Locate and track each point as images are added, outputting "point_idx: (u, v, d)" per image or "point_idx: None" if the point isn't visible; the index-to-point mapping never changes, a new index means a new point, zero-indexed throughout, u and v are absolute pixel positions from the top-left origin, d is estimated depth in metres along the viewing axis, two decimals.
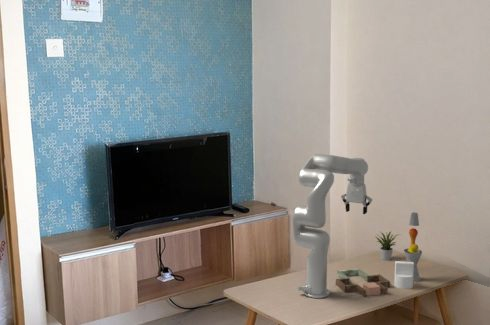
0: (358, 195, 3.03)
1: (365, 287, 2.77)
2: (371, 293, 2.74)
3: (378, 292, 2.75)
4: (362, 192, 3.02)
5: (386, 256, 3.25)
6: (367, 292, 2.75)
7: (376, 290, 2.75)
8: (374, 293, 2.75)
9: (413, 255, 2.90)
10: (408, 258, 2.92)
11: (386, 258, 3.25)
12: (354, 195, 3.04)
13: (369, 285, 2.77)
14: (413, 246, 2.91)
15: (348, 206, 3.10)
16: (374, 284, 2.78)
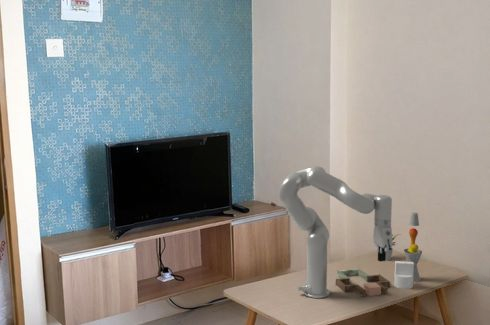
0: None
1: (366, 287, 2.77)
2: (372, 293, 2.74)
3: (379, 292, 2.75)
4: None
5: (386, 256, 3.25)
6: (368, 292, 2.75)
7: (377, 290, 2.75)
8: (375, 293, 2.74)
9: (413, 255, 2.90)
10: (408, 258, 2.92)
11: (386, 258, 3.25)
12: None
13: (370, 285, 2.77)
14: (413, 246, 2.91)
15: None
16: (375, 284, 2.78)
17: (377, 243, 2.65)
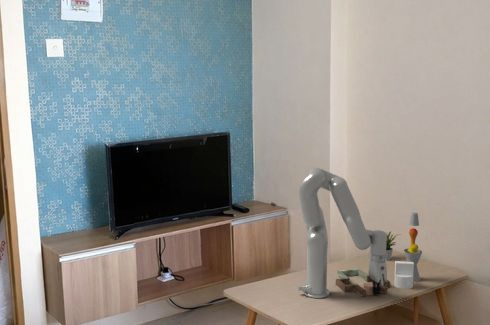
0: None
1: (365, 286, 2.77)
2: (371, 293, 2.75)
3: None
4: None
5: (386, 256, 3.25)
6: (367, 291, 2.76)
7: None
8: None
9: (413, 255, 2.90)
10: (408, 258, 2.92)
11: (386, 258, 3.25)
12: None
13: (369, 284, 2.77)
14: (413, 246, 2.91)
15: None
16: None
17: (372, 277, 2.71)
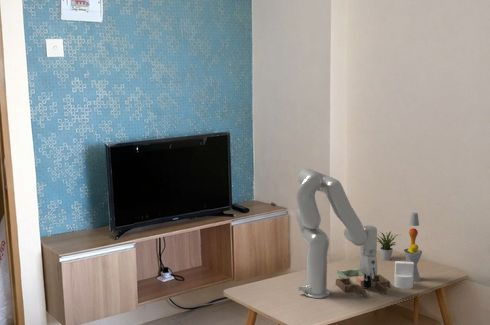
0: None
1: (358, 280, 2.86)
2: (363, 286, 2.83)
3: None
4: None
5: (386, 256, 3.25)
6: (359, 285, 2.84)
7: None
8: None
9: (413, 255, 2.90)
10: (408, 258, 2.92)
11: (386, 258, 3.25)
12: None
13: (362, 278, 2.86)
14: (413, 246, 2.91)
15: None
16: None
17: (363, 271, 2.80)
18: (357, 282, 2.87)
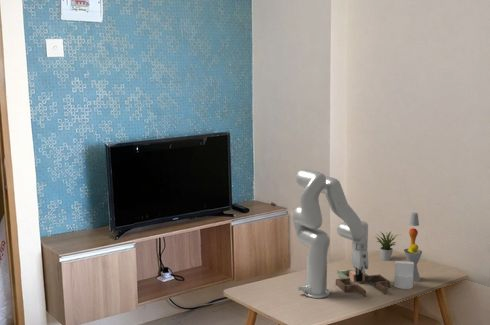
0: None
1: (351, 274, 2.95)
2: None
3: (363, 279, 2.93)
4: None
5: (386, 256, 3.25)
6: (352, 279, 2.93)
7: None
8: None
9: (413, 255, 2.90)
10: (408, 258, 2.92)
11: (386, 258, 3.25)
12: None
13: None
14: (413, 246, 2.91)
15: None
16: None
17: (355, 265, 2.89)
18: (350, 276, 2.96)
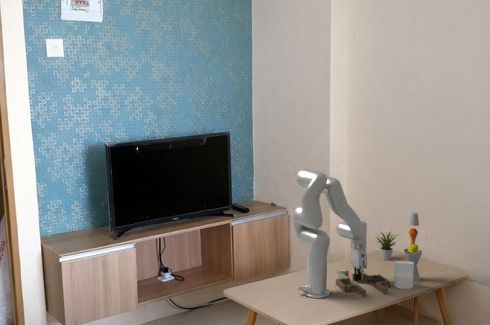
0: None
1: (350, 273, 2.96)
2: None
3: (361, 278, 2.94)
4: None
5: (386, 256, 3.25)
6: (351, 278, 2.94)
7: None
8: None
9: (413, 255, 2.90)
10: (408, 258, 2.92)
11: (386, 258, 3.25)
12: None
13: None
14: (413, 246, 2.91)
15: None
16: None
17: (353, 264, 2.90)
18: (349, 275, 2.97)
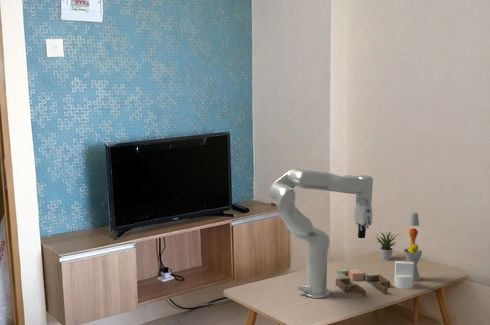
0: None
1: (350, 273, 2.96)
2: (355, 279, 2.93)
3: (362, 278, 2.94)
4: None
5: (386, 256, 3.25)
6: (351, 278, 2.94)
7: (360, 276, 2.94)
8: (358, 279, 2.94)
9: (413, 255, 2.90)
10: (408, 258, 2.92)
11: (386, 258, 3.25)
12: None
13: (354, 271, 2.96)
14: (413, 246, 2.91)
15: None
16: (358, 271, 2.97)
17: (358, 221, 2.80)
18: (349, 275, 2.97)
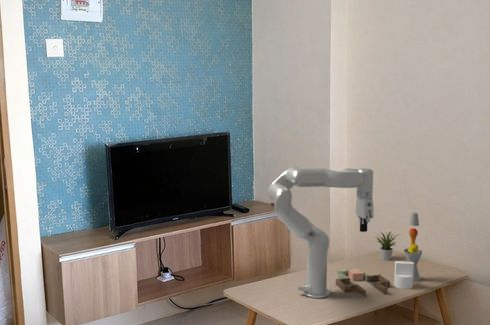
0: None
1: (350, 273, 2.96)
2: (355, 279, 2.93)
3: (362, 278, 2.94)
4: None
5: (386, 256, 3.25)
6: (351, 278, 2.94)
7: (360, 276, 2.94)
8: (358, 279, 2.94)
9: (413, 255, 2.90)
10: (408, 258, 2.92)
11: (386, 258, 3.25)
12: None
13: (354, 271, 2.96)
14: (413, 246, 2.91)
15: None
16: (358, 271, 2.97)
17: (359, 214, 2.77)
18: (349, 275, 2.97)
